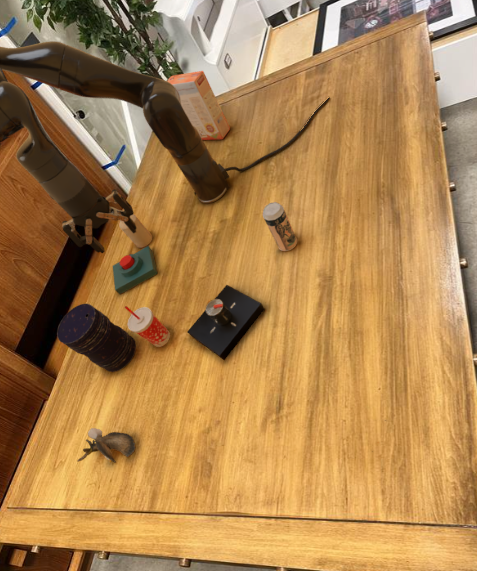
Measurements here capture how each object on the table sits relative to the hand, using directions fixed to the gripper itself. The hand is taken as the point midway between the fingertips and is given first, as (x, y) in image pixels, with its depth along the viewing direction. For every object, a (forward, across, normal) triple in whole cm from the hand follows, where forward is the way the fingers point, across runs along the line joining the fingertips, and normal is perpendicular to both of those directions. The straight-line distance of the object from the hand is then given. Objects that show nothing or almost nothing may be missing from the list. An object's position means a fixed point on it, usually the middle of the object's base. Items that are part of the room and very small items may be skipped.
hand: (118, 240), depth 89 cm
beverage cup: (+18, +4, +16) cm, 25 cm away
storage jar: (+18, +15, +13) cm, 27 cm away
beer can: (+18, -33, +12) cm, 39 cm away
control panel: (+18, -12, +23) cm, 31 cm away
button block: (+18, +5, -10) cm, 21 cm away
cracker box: (+18, -35, -52) cm, 66 cm away
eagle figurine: (+18, +20, +36) cm, 45 cm away
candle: (+18, 0, -20) cm, 27 cm away
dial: (+15, -12, +23) cm, 30 cm away
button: (+14, +5, -10) cm, 18 cm away
